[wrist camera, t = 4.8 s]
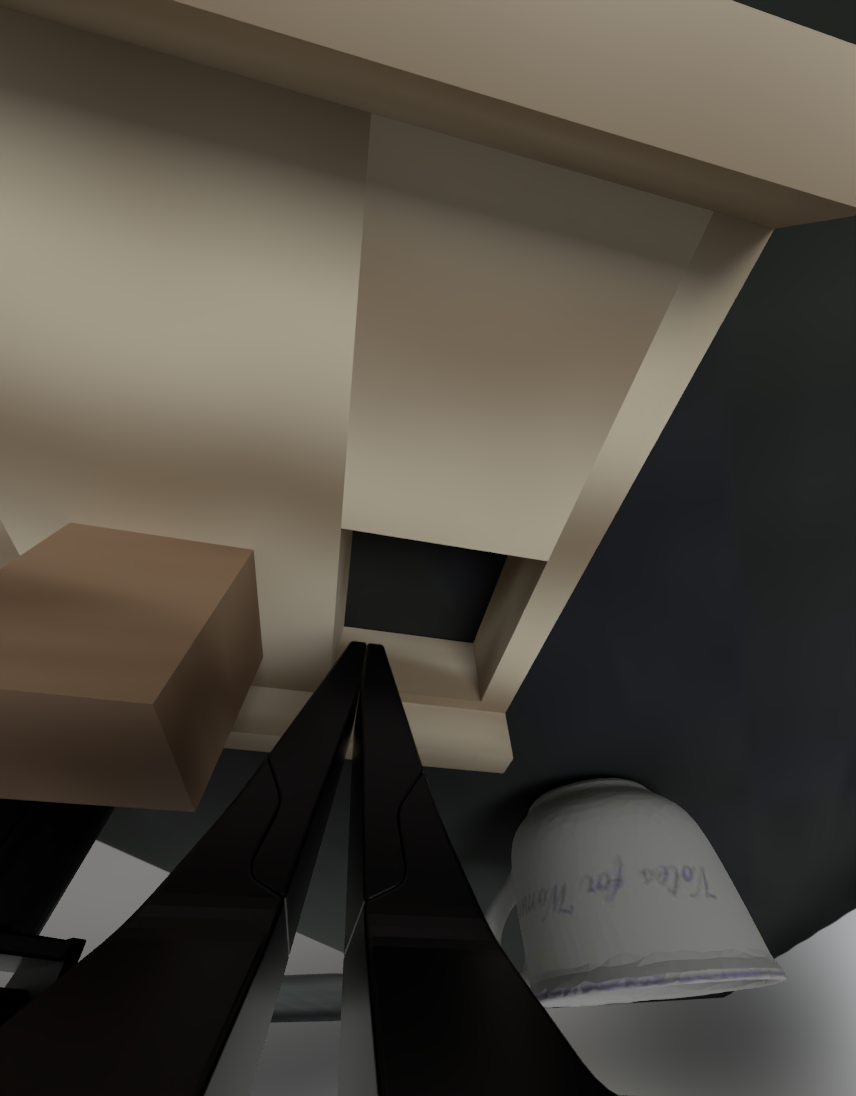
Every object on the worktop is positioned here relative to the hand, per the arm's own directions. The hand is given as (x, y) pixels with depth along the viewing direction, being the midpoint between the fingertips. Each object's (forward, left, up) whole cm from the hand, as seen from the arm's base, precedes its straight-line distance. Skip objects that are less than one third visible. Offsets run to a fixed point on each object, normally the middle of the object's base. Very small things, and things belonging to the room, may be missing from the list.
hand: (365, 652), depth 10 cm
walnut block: (0, +5, -1) cm, 5 cm away
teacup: (-16, -14, -4) cm, 22 cm away
